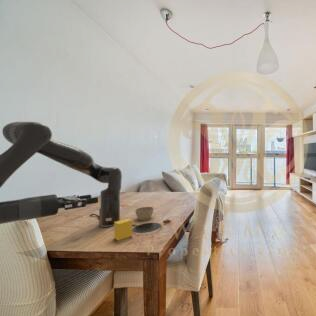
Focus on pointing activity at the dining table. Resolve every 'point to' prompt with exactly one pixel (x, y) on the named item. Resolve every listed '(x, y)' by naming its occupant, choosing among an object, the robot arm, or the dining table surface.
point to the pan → (146, 227)
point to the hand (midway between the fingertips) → (94, 198)
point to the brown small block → (167, 221)
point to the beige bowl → (144, 213)
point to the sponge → (122, 229)
